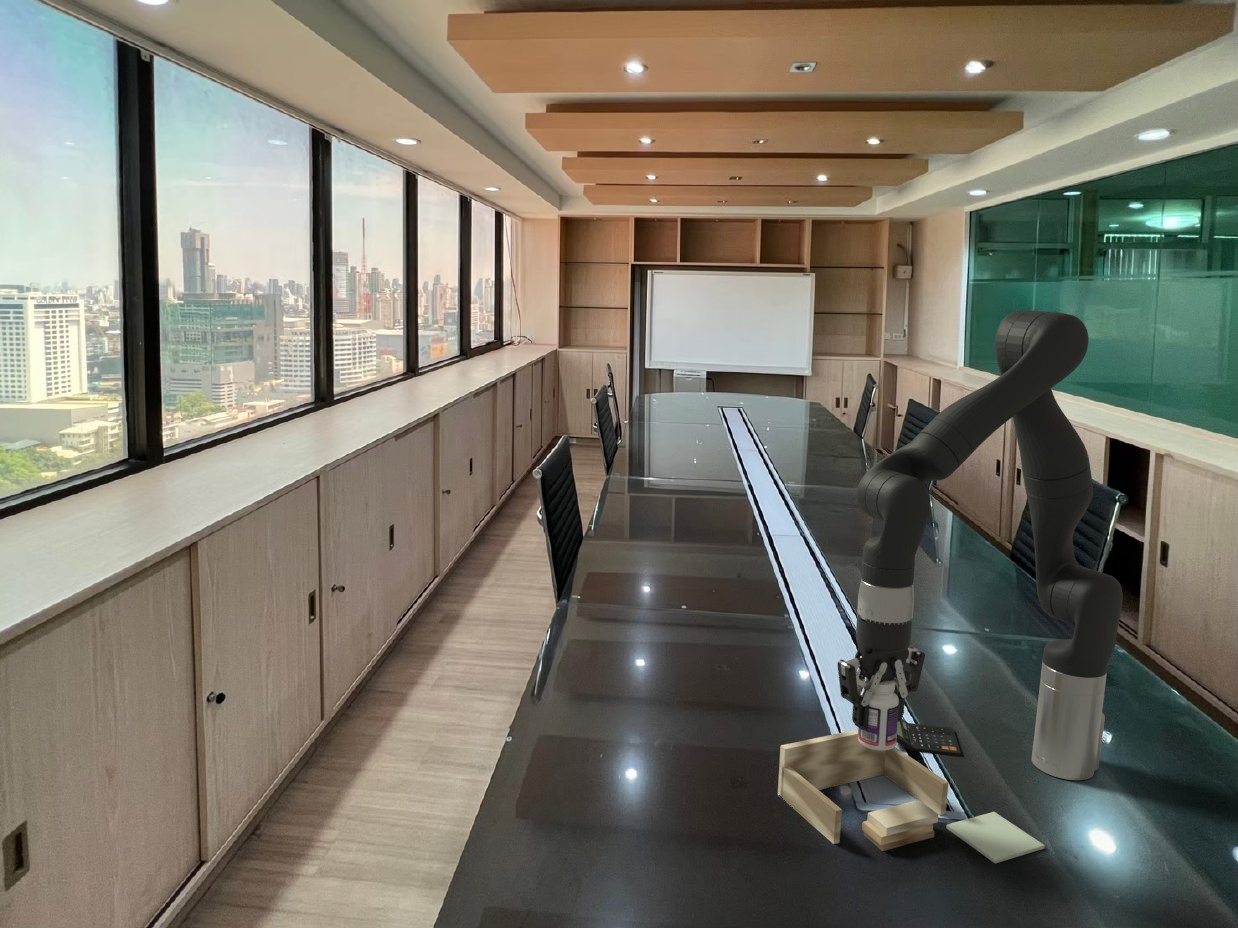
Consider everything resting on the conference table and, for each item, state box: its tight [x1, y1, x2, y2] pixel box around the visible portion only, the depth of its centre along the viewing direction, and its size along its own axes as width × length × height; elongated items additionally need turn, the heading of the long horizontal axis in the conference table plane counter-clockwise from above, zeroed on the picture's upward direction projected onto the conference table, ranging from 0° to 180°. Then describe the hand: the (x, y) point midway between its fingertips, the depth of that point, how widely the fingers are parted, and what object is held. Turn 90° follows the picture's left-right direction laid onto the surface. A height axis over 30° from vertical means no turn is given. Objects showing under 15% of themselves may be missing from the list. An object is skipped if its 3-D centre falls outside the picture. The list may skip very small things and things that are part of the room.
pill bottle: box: [857, 677, 899, 750], centre depth 132 cm, size 5×5×10 cm
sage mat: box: [945, 811, 1045, 864], centre depth 129 cm, size 9×9×1 cm
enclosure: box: [777, 729, 950, 845], centre depth 136 cm, size 20×14×8 cm
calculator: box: [896, 718, 962, 757], centre depth 158 cm, size 9×12×3 cm
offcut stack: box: [861, 799, 939, 852], centre depth 129 cm, size 10×4×4 cm, turn 114°
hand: (877, 722), depth 133 cm, fingers closed on pill bottle, 5 cm apart
